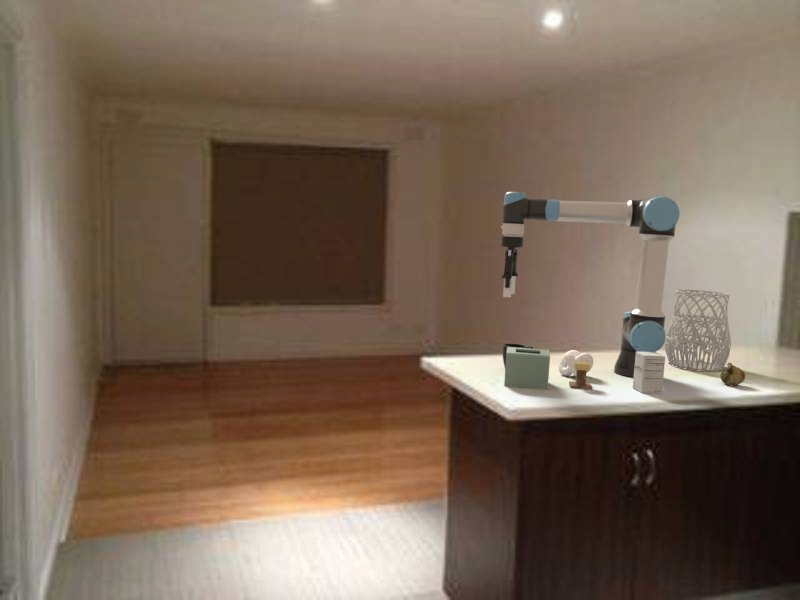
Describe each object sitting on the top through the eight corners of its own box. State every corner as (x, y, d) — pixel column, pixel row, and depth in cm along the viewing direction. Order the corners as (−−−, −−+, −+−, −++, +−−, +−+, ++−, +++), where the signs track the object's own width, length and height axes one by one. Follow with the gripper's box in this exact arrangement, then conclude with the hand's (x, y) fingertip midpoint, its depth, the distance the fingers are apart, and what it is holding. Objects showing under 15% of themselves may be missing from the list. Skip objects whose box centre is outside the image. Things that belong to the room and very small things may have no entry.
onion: (742, 388, 261) (744, 366, 260) (717, 385, 265) (719, 362, 264) (745, 385, 267) (747, 363, 266) (721, 381, 271) (723, 359, 270)
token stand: (590, 385, 254) (591, 367, 253) (592, 389, 247) (593, 371, 246) (569, 383, 255) (570, 366, 254) (570, 387, 248) (571, 369, 247)
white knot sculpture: (589, 381, 259) (591, 356, 258) (554, 377, 263) (556, 352, 262) (593, 376, 270) (595, 351, 269) (559, 372, 274) (561, 348, 273)
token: (588, 368, 252) (589, 362, 252) (589, 370, 247) (590, 364, 247) (573, 366, 253) (573, 360, 253) (574, 369, 248) (574, 363, 248)
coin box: (546, 381, 255) (548, 350, 254) (547, 389, 244) (550, 355, 242) (505, 378, 258) (507, 346, 256) (504, 385, 246) (506, 352, 245)
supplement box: (631, 388, 252) (635, 351, 251) (653, 388, 253) (656, 351, 252) (640, 393, 245) (644, 355, 244) (662, 393, 246) (666, 355, 244)
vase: (710, 375, 283) (717, 296, 280) (651, 363, 301) (658, 289, 298) (739, 369, 299) (746, 294, 296) (682, 358, 317) (688, 288, 314)
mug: (537, 373, 270) (539, 346, 269) (509, 374, 266) (510, 347, 265) (525, 368, 278) (527, 343, 277) (497, 369, 273) (499, 343, 272)
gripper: (505, 235, 279) (502, 291, 281) (497, 235, 255) (494, 297, 257) (526, 236, 277) (522, 293, 280) (520, 236, 253) (516, 299, 256)
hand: (508, 295), depth 268 cm, fingers open, 13 cm apart
